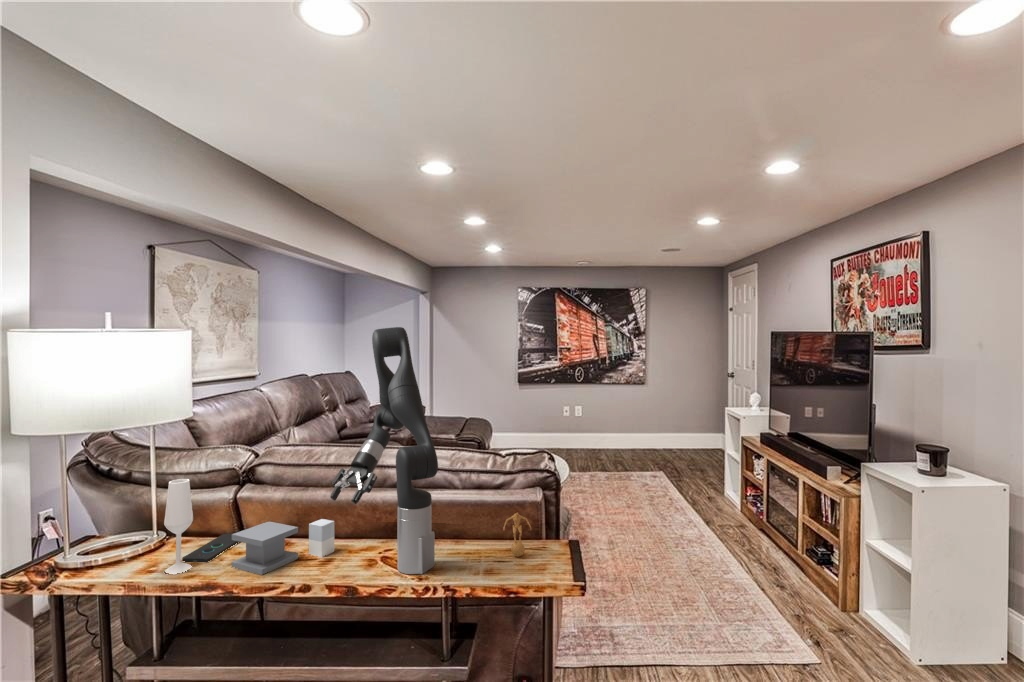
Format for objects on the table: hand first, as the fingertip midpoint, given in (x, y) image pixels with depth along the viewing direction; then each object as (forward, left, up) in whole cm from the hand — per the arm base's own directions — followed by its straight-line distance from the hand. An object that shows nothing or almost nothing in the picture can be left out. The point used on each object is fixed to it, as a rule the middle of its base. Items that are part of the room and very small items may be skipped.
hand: (342, 501), depth 161 cm
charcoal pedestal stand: (+9, +21, -13) cm, 26 cm away
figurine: (-53, -14, -13) cm, 56 cm away
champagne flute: (+27, +34, -13) cm, 45 cm away
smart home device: (+31, +20, -14) cm, 39 cm away
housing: (0, +9, -13) cm, 16 cm away
